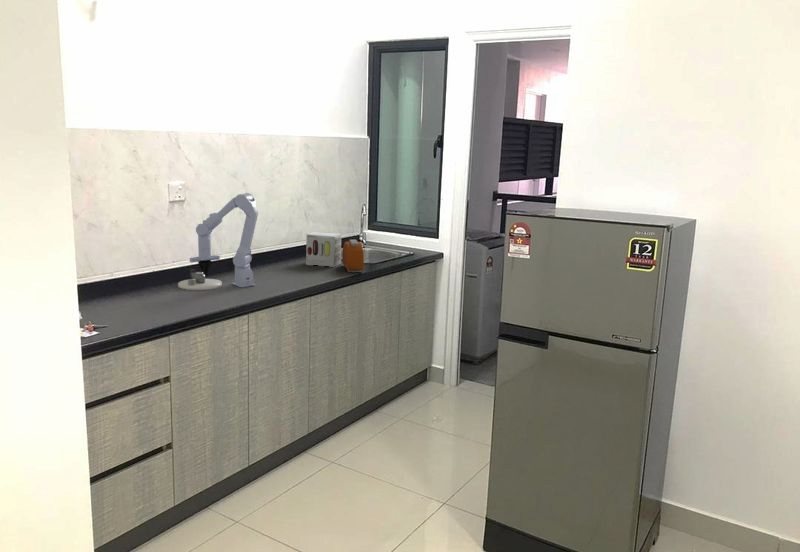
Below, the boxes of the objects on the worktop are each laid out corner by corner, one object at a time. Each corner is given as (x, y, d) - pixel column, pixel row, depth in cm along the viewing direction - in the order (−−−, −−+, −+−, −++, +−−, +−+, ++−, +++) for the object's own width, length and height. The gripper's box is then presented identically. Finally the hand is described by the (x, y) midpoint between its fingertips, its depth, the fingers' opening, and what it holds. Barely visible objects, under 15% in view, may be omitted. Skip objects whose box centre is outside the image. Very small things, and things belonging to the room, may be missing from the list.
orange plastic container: (363, 273, 353) (364, 243, 350) (347, 273, 351) (348, 243, 348) (357, 265, 375) (358, 236, 372) (342, 265, 373) (342, 236, 370)
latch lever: (206, 282, 308) (206, 272, 307) (197, 283, 305) (197, 273, 304) (196, 278, 317) (195, 268, 316) (187, 279, 314) (187, 269, 313)
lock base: (229, 287, 308) (229, 279, 307) (188, 292, 295) (188, 283, 294) (211, 279, 323) (210, 272, 322) (171, 284, 310) (171, 276, 309)
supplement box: (305, 265, 370) (305, 234, 366) (313, 261, 382) (313, 231, 379) (334, 267, 366) (334, 236, 362) (341, 263, 379) (341, 233, 375)
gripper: (214, 245, 321) (215, 272, 324) (186, 248, 311) (187, 275, 314) (221, 247, 316) (221, 275, 318) (192, 250, 306) (193, 278, 309)
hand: (205, 275), depth 316 cm, fingers closed
